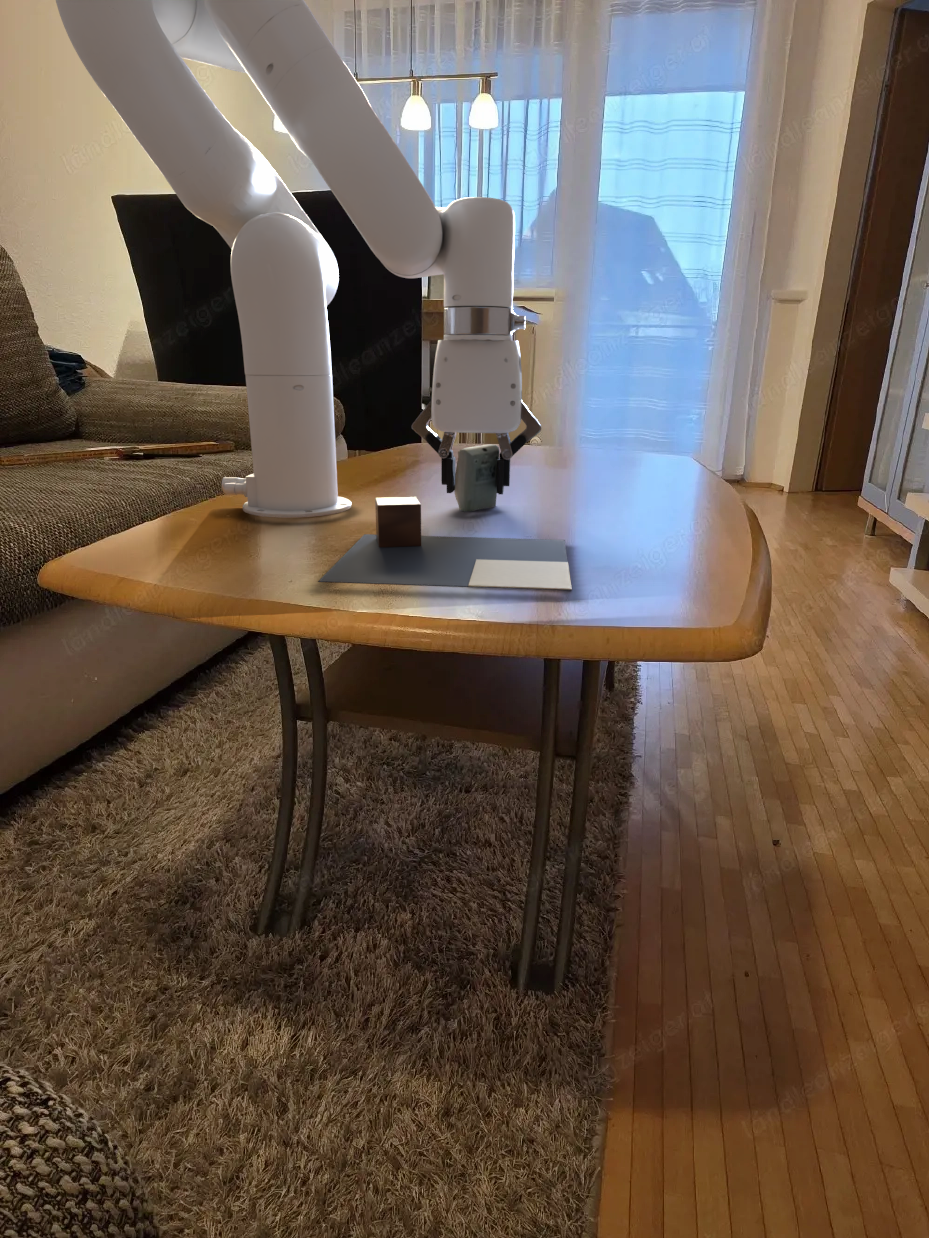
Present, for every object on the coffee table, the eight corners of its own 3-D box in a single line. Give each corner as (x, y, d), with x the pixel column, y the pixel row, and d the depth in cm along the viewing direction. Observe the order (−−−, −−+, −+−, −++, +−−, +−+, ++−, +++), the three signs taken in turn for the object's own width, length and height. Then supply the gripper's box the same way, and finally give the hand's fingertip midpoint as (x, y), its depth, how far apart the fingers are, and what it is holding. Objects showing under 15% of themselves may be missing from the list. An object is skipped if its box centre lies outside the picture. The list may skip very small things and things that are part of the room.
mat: (318, 590, 60) (317, 580, 60) (364, 541, 76) (364, 533, 76) (571, 599, 58) (571, 588, 58) (564, 547, 74) (564, 538, 74)
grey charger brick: (493, 519, 87) (493, 448, 84) (448, 518, 88) (448, 448, 85) (500, 510, 92) (501, 443, 89) (458, 509, 93) (458, 442, 90)
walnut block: (378, 547, 71) (377, 505, 69) (376, 538, 74) (375, 497, 73) (421, 546, 71) (421, 504, 70) (416, 536, 75) (416, 496, 74)
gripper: (555, 328, 86) (548, 488, 92) (406, 327, 87) (409, 485, 93) (556, 326, 79) (548, 499, 85) (395, 325, 80) (398, 495, 86)
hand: (475, 490), depth 89 cm, fingers closed on grey charger brick, 5 cm apart
